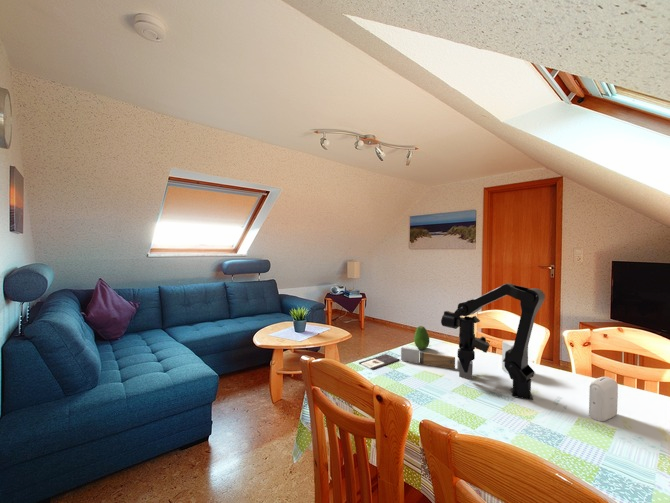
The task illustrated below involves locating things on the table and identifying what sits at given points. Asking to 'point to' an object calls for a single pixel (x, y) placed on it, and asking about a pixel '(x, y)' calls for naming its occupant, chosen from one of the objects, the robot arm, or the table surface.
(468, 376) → the block
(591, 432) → the table surface
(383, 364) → the chocolate bar
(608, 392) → the photo printer
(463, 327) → the robot arm
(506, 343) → the supplement box
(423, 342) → the fruit
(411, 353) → the frame
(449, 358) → the oak door
